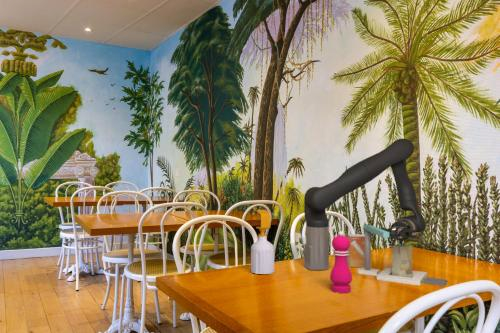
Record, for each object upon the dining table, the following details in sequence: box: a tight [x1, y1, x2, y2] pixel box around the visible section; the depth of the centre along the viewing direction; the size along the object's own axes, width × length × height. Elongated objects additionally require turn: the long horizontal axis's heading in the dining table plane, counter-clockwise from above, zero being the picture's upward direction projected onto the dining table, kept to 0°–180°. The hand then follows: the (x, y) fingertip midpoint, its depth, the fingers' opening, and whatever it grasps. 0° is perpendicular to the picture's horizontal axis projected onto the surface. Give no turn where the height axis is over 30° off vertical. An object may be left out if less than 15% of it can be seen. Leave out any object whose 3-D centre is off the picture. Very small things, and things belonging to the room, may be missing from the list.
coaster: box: [422, 276, 448, 287], centre depth 154 cm, size 7×7×1 cm
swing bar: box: [362, 223, 391, 239], centre depth 158 cm, size 21×3×2 cm, turn 4°
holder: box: [357, 230, 428, 286], centre depth 162 cm, size 24×15×17 cm, turn 58°
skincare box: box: [391, 243, 413, 278], centre depth 160 cm, size 6×4×12 cm
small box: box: [347, 233, 365, 268], centre depth 179 cm, size 8×6×13 cm
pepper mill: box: [329, 230, 353, 294], centre depth 143 cm, size 7×7×20 cm
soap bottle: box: [250, 209, 275, 275], centre depth 168 cm, size 9×9×25 cm
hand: (392, 235), depth 146 cm, fingers closed
